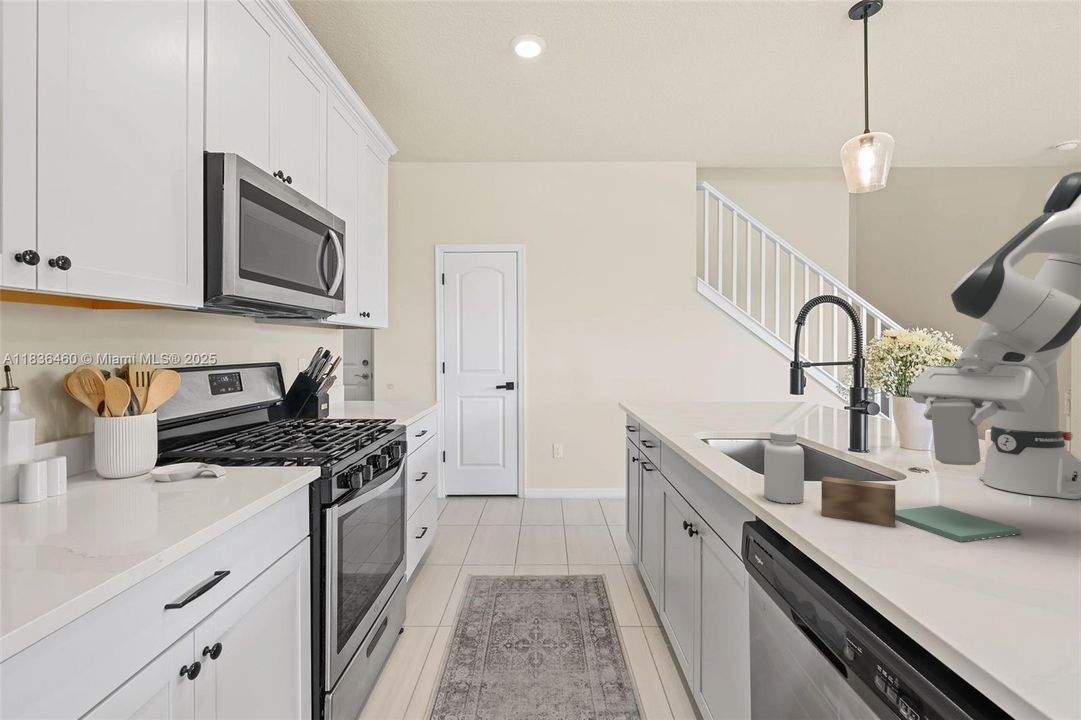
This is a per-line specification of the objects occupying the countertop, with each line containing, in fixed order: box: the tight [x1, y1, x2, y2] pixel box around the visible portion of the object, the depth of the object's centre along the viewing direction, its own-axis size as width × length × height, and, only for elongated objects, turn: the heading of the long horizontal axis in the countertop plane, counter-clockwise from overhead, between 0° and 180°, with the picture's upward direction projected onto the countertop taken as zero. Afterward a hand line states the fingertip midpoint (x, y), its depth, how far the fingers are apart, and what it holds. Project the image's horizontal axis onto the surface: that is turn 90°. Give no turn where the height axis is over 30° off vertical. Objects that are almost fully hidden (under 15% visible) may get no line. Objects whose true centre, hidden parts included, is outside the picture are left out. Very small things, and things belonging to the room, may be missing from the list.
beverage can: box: [931, 399, 982, 466], centre depth 91 cm, size 6×6×12 cm
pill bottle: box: [763, 430, 805, 505], centre depth 109 cm, size 8×8×15 cm
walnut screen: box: [821, 476, 896, 528], centre depth 96 cm, size 12×4×7 cm, turn 55°
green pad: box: [895, 505, 1022, 543], centre depth 93 cm, size 14×14×1 cm
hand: (949, 420), depth 92 cm, fingers closed on beverage can, 6 cm apart
